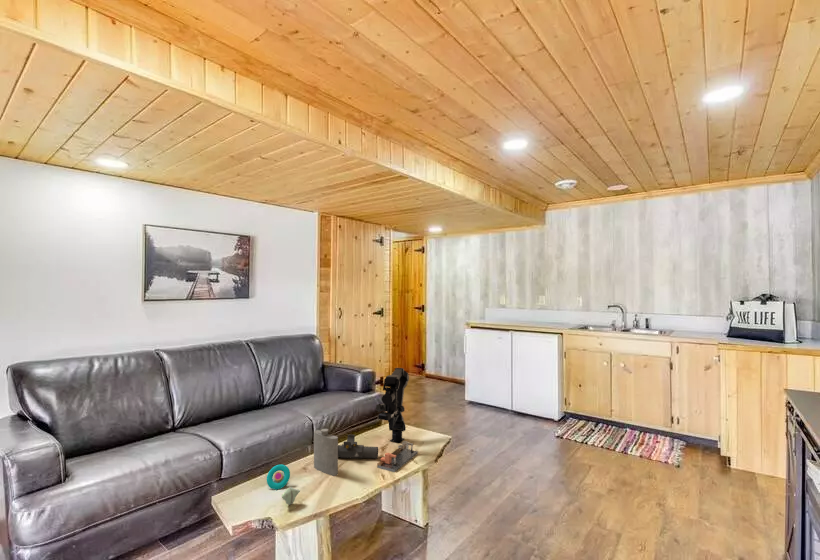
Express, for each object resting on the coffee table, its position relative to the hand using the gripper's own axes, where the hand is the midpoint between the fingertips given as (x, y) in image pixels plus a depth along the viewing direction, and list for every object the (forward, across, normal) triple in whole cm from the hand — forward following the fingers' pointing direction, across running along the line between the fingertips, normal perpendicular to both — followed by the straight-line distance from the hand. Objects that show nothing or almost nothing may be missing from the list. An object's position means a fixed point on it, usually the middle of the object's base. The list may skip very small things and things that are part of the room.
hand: (391, 428), depth 222 cm
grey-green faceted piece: (+12, +66, -9) cm, 68 cm away
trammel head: (+10, +17, +8) cm, 21 cm away
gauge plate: (+12, +9, +10) cm, 18 cm away
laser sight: (+12, +17, -12) cm, 24 cm away
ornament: (+12, +57, -25) cm, 63 cm away
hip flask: (+12, +36, -16) cm, 41 cm away
